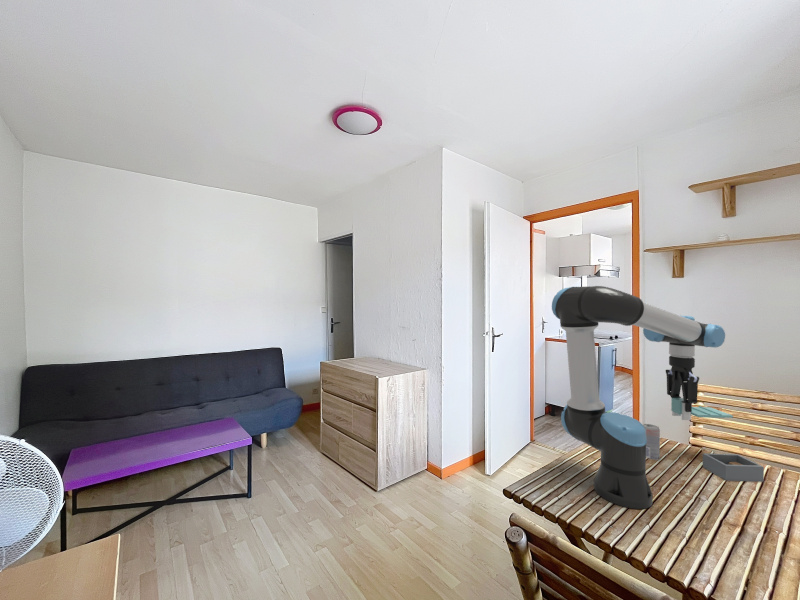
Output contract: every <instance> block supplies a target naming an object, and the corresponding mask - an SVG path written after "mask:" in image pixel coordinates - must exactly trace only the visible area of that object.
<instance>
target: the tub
mask: <svg viewBox="0 0 800 600" xmlns="http://www.w3.org/2000/svg"><path fill="white" fill-rule="evenodd" d="M729 462H737V463H740V464H742V465H728V463H729ZM702 468H704V469H705V470H707V471H709V472H710V473H712V474H714V475H715V476H717V477H719V478H721V479H722V480H724V481H731V482H737V481H738V482H754V483H755V482H756V483H757V482H759V483H760V482H761V483H764V481H765V480H764V478H765V477H764V475H765V472H764V471H765V467H764V466H763V465H761V464H758V462H755V461H752V460H751V459H748V458H746V457H744V456H742V455H740V454H738V453H707V452H705V453H702Z"/></svg>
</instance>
